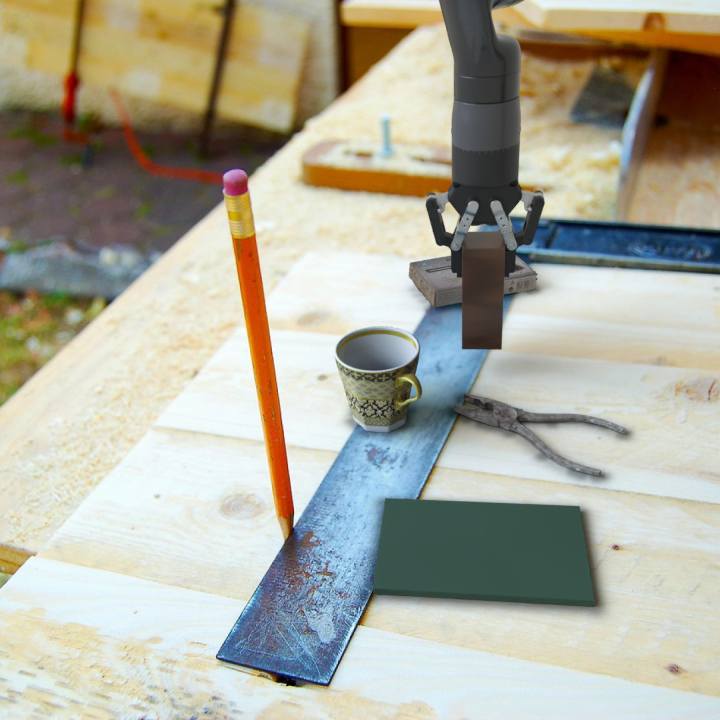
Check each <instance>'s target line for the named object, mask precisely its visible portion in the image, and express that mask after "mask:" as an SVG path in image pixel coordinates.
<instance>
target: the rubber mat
mask: <svg viewBox="0 0 720 720" xmlns="http://www.w3.org/2000/svg"><path fill="white" fill-rule="evenodd" d="M380 526H381V527H380V533H379V534H380V535H379V542H378V549H377V556H376V563H375V571H374V577H373V586H372V592H373V593H372V594H373V595H388V596H406V597H423V598H440V599H458V600H459V599H460V600H475V601H492V602H493V601H495V602H508V603H509V602H511V603H527V604H542V605H543V604H544V605H545V604H546V605H563V606H578V607H581V606H582V607H595V602H596V599H595V592H594V587H593V580H592V575H591V567H590V563H589V556H588V549H587V544H586V543H587V542H586V538H585V531H584V525H583V518H582V512H581V507H580V505H568V504H567V505H566V504H563V505H562V504H540V503H539V504H538V503H537V504H536V503H519V502H518V503H515V502H491V501H490V502H488V501H467V500H466V501H465V500H443V499H442V500H438V499H419V498H418V499H417V498H415V499H413V498H395V497H394V498H391V497H385V498H384V505H383V511H382V519H381V525H380Z"/></svg>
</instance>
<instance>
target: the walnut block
mask: <svg viewBox="0 0 720 720" xmlns="http://www.w3.org/2000/svg"><path fill="white" fill-rule="evenodd" d="M504 272H505V241H504V238H503V236H502V234H501V232H500V230H497V231H496V230H495V231H494V230H493V231H490V230H489V231H468V233H467V235H466V236H465V238H464V241H463V243H462V302H461V350H484V351H485V350H490V351H491V350H492V351H493V350H494V351H495V350H497V351H502V349H503V328H504V327H503V325H504V300H505V299H504V296H505V294H504Z"/></svg>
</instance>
